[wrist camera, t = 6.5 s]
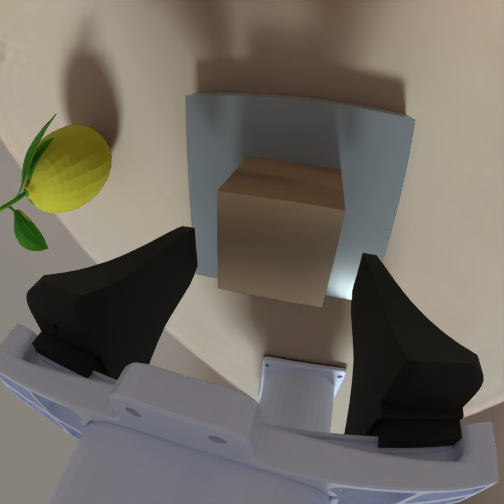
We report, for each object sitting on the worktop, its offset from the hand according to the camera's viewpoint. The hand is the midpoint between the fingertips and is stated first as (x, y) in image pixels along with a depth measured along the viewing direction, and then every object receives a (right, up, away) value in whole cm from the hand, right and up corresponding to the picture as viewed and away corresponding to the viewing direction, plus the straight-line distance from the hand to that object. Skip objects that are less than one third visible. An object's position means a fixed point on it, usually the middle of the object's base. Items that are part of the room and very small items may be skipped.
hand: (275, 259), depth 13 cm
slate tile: (+2, +4, +6) cm, 7 cm away
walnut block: (+1, +3, +4) cm, 5 cm away
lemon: (-12, +8, +7) cm, 16 cm away
